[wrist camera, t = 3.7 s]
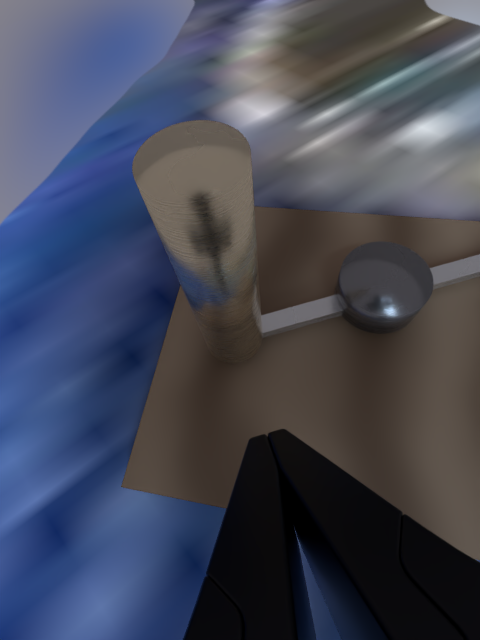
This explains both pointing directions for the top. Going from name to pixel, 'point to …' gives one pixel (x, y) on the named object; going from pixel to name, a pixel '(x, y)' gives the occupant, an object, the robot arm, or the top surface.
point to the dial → (241, 248)
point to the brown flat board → (331, 380)
